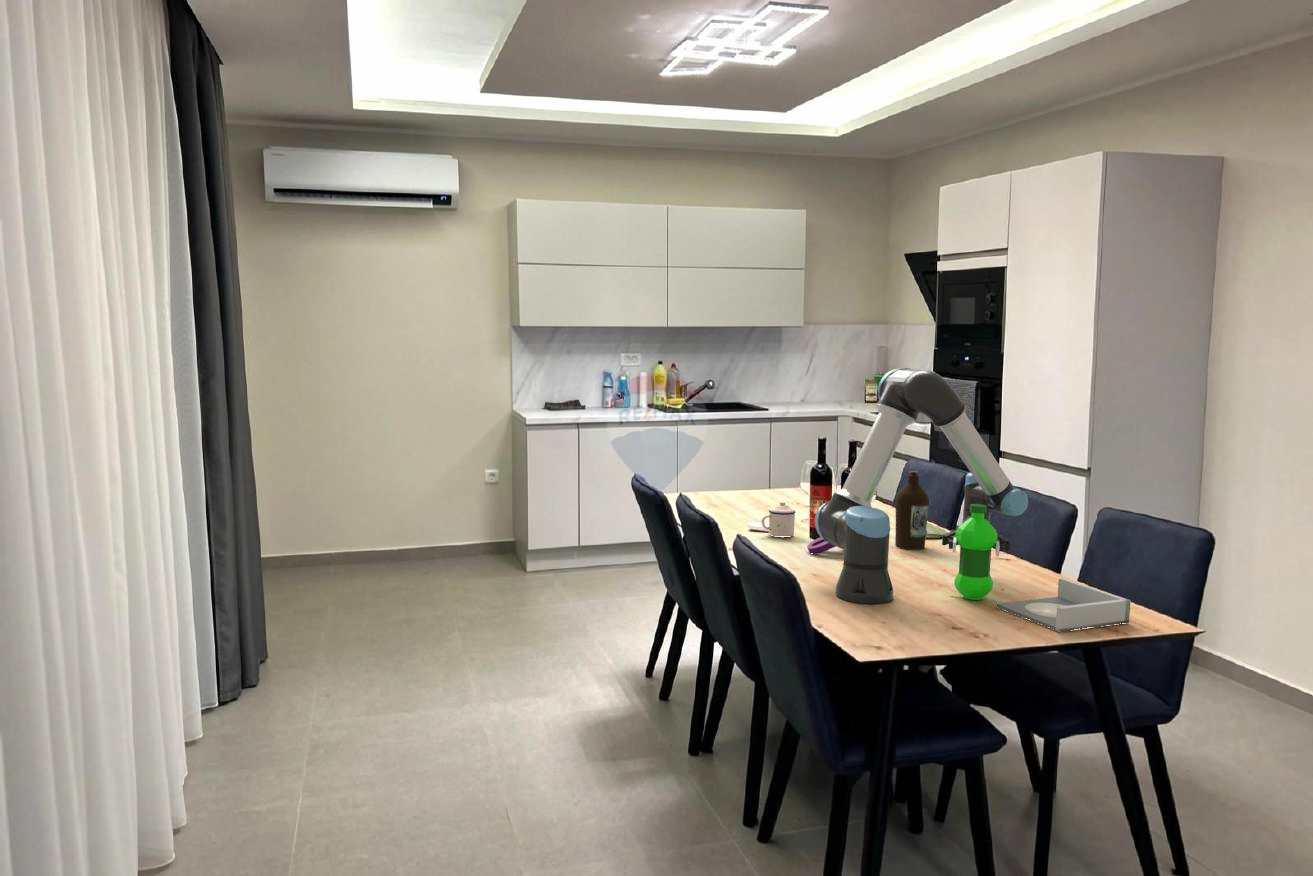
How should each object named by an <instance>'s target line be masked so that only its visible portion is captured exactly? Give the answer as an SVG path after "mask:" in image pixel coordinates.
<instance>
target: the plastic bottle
mask: <svg viewBox="0 0 1313 876" xmlns="http://www.w3.org/2000/svg"><path fill="white" fill-rule="evenodd" d="M986 511H987V506H986V505H982V504H970V512H972V514H971V518H970V519H968V520H967V521H966V522H964V523H963V524H960V526H958V527H957V529H956V530H955V531H956V541H957V543H958V544H959V545H958V546H959V547H960V548H959V561H958V563H959V565H958V573H957V574H956V577H955V579H954V584H953V585H954V587H955V589H956V591H957V592H958V593H959V594H960V595H961V596H962V597H963V598H965V599H967V600H971V601H972V600H973V601H974V600H975V601H978V600H979V601H980V600H983V599H984V598H985V597H987V596H988V595H989V594H990V592H991V591H992V590H993V587H994V582H993V578H992V576H991V560H992V549H993V548H992V547H993V546H994V545H996V542H997V535H998V533H997V529H996V528H995V527H994V526H993V525H992V524H991V523H989V522H988V521H986V520H985V519H984V513H986Z"/></svg>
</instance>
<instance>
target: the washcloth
mask: <svg viewBox="0 0 1313 876" xmlns="http://www.w3.org/2000/svg"><path fill="white" fill-rule="evenodd" d="M926 530H927V535H926V538H933V539H941V538H940V537H942V536H943V535H945V534H947V533H949V532H948V531H946V530H945V529H943V528H942V527H938V526H935V525H933V523H929V522H927V527H926Z"/></svg>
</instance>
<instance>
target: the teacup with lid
mask: <svg viewBox="0 0 1313 876" xmlns="http://www.w3.org/2000/svg"><path fill="white" fill-rule="evenodd" d="M768 512H769V514H767V515H764V516H762V518H761V521H760V523H761V526H762V528H763V529H765V530H766V531H767V530H768V534H769V533H770V534H771V535H773V536H793V535H794V536H795V519H796V518H795V516H796V509H794V508H793V507H790V506H789V505H787V504H786V502H785V501H779V503H778V504H777V505H776V504H775V506H773V507H770V508H769V510H768ZM766 519H768V527H767V526H766V525H765V524H766V523H765V520H766ZM794 536H793V537H794Z"/></svg>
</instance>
